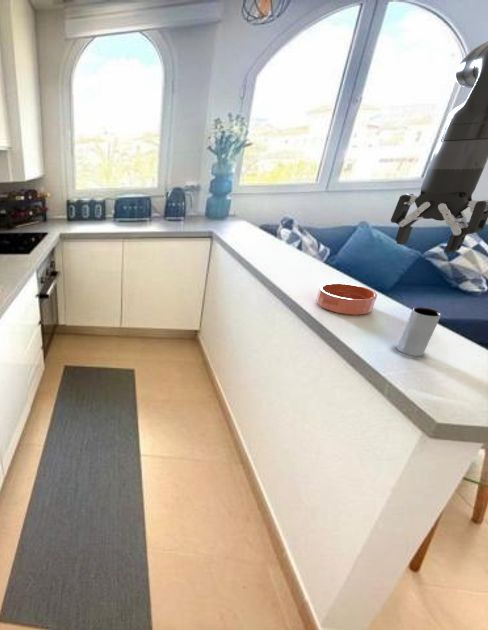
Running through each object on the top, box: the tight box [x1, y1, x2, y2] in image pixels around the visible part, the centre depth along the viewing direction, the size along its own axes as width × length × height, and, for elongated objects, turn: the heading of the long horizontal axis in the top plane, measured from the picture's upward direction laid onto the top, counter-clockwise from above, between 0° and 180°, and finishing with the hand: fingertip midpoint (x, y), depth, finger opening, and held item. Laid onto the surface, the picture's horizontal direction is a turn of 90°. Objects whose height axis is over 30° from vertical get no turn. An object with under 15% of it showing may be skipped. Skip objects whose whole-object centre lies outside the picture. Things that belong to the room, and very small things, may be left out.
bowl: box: [315, 282, 378, 316], centre depth 101 cm, size 13×13×5 cm
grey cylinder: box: [396, 306, 442, 357], centre depth 78 cm, size 4×4×10 cm
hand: (423, 248), depth 73 cm, fingers open, 8 cm apart
